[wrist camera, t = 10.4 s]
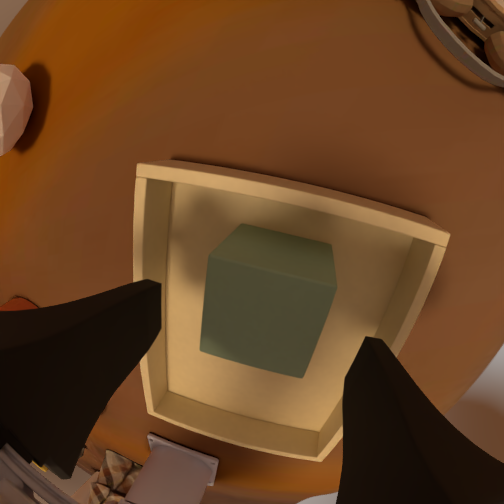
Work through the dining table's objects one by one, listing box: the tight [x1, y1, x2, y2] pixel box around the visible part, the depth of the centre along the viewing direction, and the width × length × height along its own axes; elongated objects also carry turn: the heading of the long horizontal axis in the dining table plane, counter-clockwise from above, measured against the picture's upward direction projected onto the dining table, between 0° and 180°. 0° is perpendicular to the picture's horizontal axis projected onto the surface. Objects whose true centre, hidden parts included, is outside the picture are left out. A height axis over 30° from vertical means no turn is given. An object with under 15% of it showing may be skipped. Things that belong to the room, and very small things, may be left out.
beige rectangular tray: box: [133, 160, 450, 462], centre depth 14 cm, size 17×13×3 cm
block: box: [199, 223, 337, 378], centre depth 12 cm, size 4×4×4 cm
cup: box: [70, 471, 99, 504], centre depth 35 cm, size 10×10×13 cm
